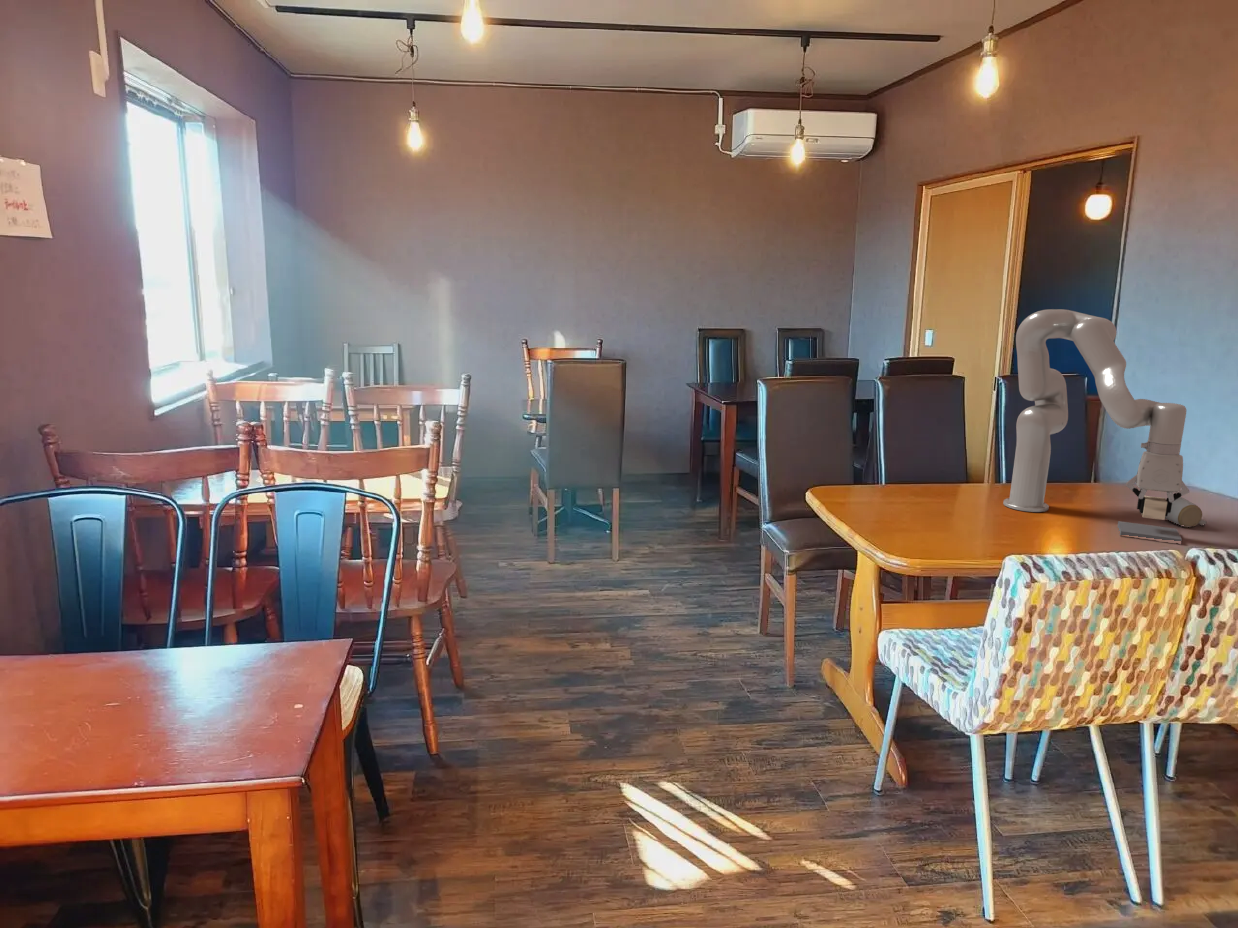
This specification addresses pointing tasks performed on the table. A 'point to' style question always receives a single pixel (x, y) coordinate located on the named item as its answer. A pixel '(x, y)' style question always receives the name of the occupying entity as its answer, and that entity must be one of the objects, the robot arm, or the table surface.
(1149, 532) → the serving board
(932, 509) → the table surface
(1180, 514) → the ceramic mug
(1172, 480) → the robot arm
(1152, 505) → the beech cube
